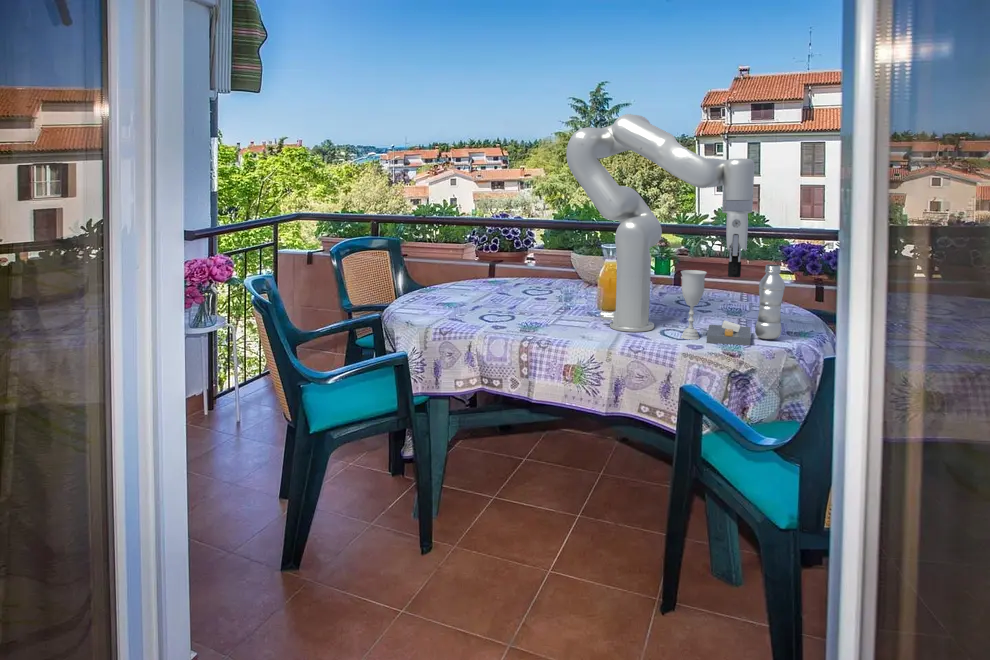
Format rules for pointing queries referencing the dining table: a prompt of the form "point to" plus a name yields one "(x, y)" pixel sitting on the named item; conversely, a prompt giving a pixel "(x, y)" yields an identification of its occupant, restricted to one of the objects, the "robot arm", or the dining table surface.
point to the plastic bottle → (770, 303)
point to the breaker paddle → (730, 326)
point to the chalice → (692, 297)
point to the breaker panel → (728, 335)
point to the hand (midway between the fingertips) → (734, 276)
